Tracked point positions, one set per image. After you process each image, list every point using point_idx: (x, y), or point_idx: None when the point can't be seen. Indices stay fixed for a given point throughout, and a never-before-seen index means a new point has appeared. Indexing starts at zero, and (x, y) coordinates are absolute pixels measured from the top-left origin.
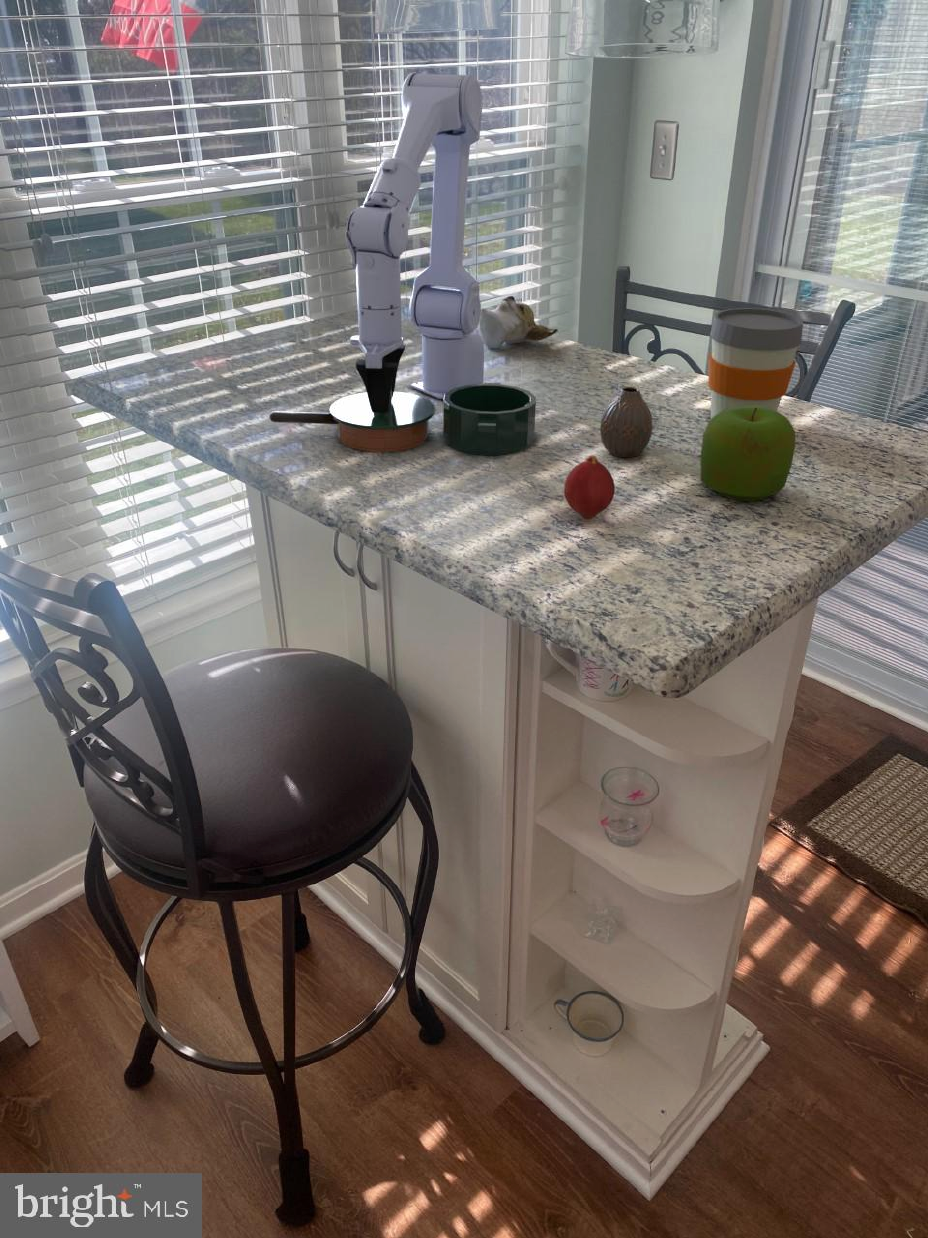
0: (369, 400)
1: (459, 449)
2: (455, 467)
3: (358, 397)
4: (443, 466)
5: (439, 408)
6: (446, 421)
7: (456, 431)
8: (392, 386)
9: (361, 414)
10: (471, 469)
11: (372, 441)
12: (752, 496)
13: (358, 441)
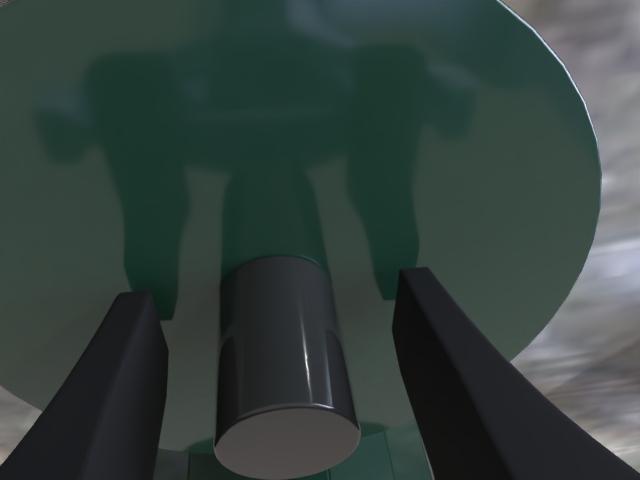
0: (81, 356)
1: None
2: (17, 429)
3: (494, 126)
4: (7, 407)
5: (593, 313)
6: (215, 465)
7: (165, 474)
8: (410, 397)
9: (118, 217)
10: None
11: None
12: None
13: None
